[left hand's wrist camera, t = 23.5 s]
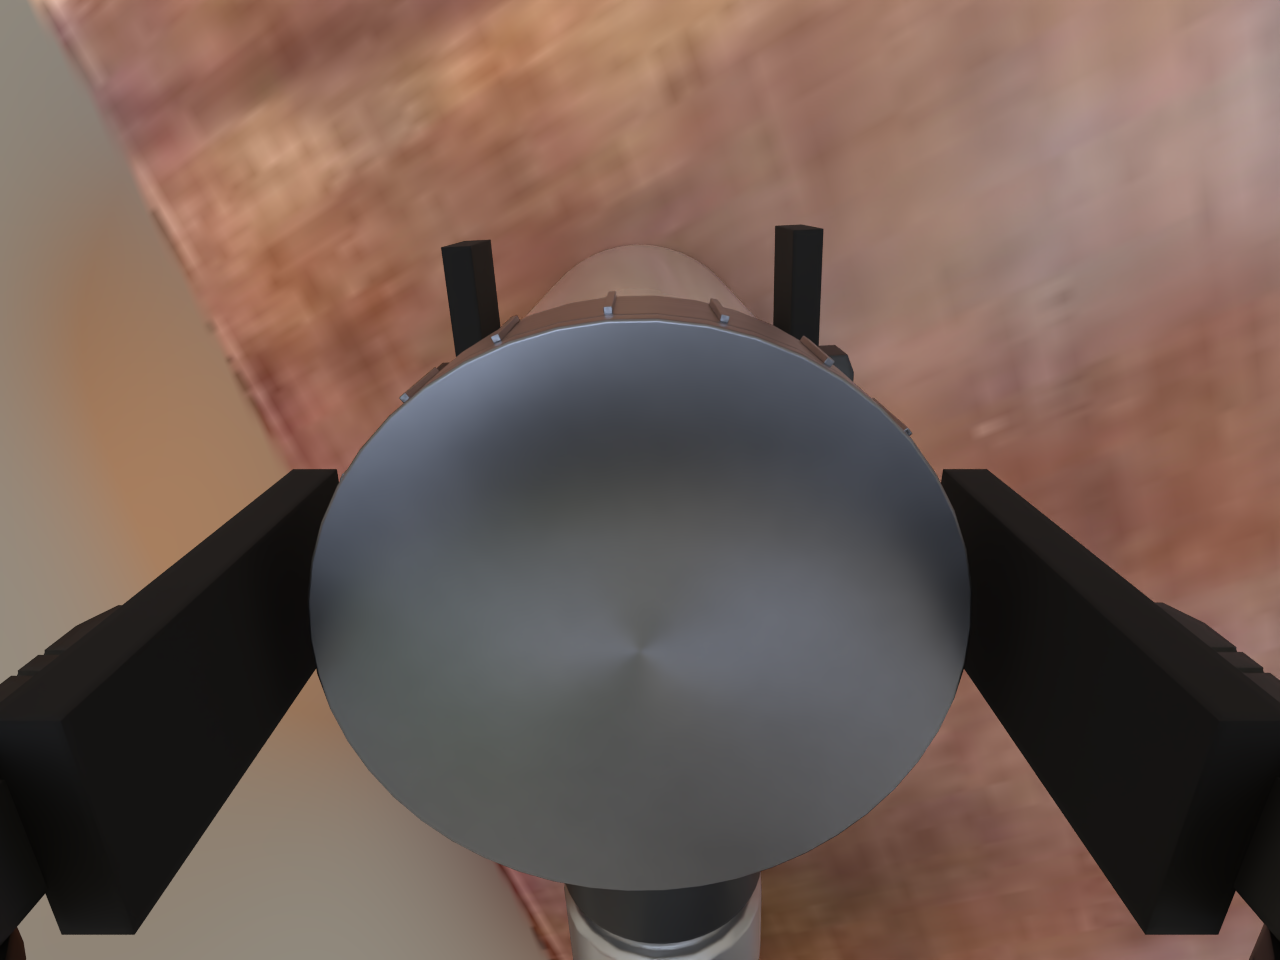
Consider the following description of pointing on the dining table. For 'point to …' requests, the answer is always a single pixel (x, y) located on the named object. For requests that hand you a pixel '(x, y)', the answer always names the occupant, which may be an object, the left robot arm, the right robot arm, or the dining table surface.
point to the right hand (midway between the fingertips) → (631, 236)
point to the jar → (639, 278)
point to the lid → (640, 597)
